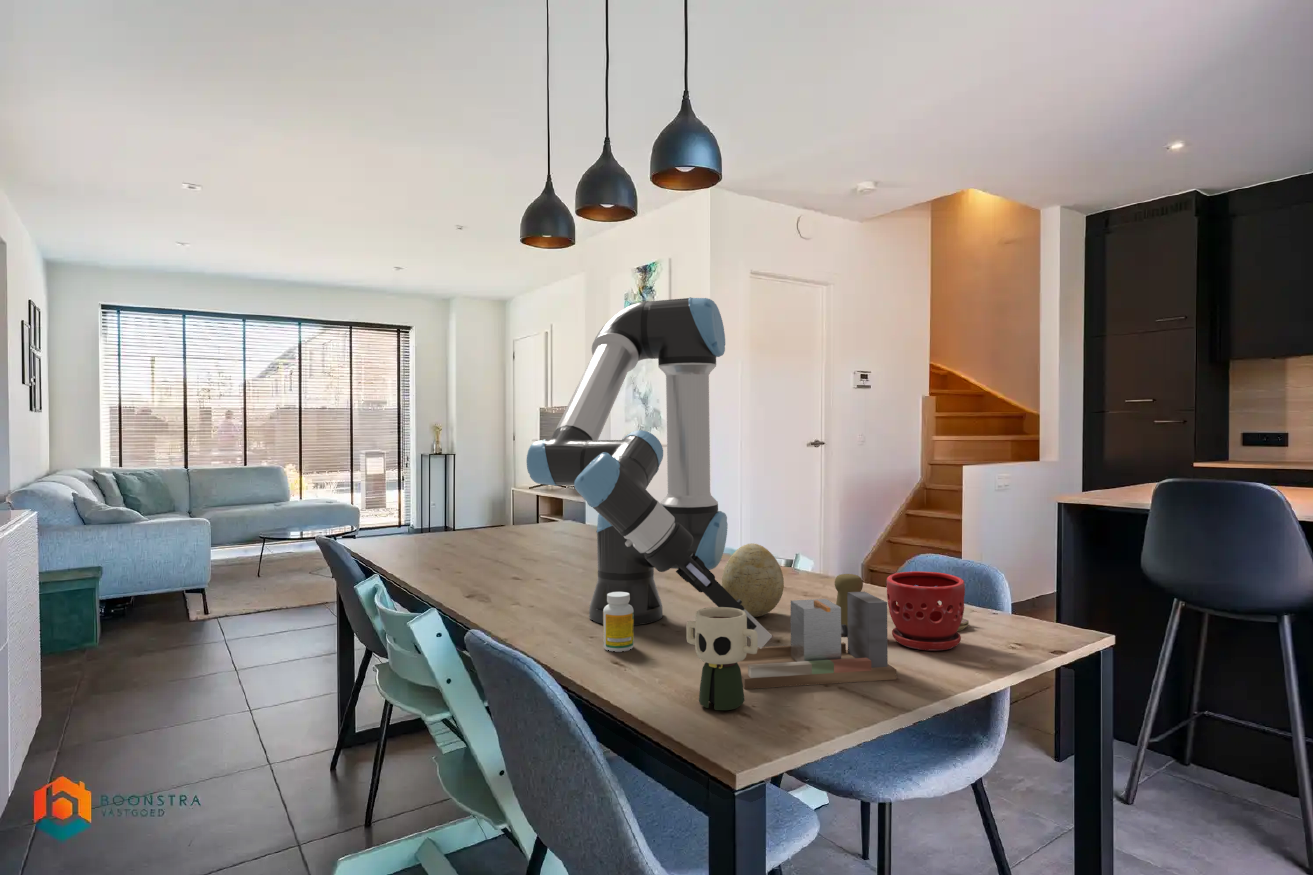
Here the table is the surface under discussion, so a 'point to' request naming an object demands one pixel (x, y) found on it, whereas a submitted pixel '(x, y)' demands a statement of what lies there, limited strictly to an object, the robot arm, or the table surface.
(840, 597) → the olive knobbed pawn
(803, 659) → the grey cube with stick
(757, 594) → the fossilized egg
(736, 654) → the character mug
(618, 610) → the supplement bottle
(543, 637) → the table surface
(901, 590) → the plant pot
